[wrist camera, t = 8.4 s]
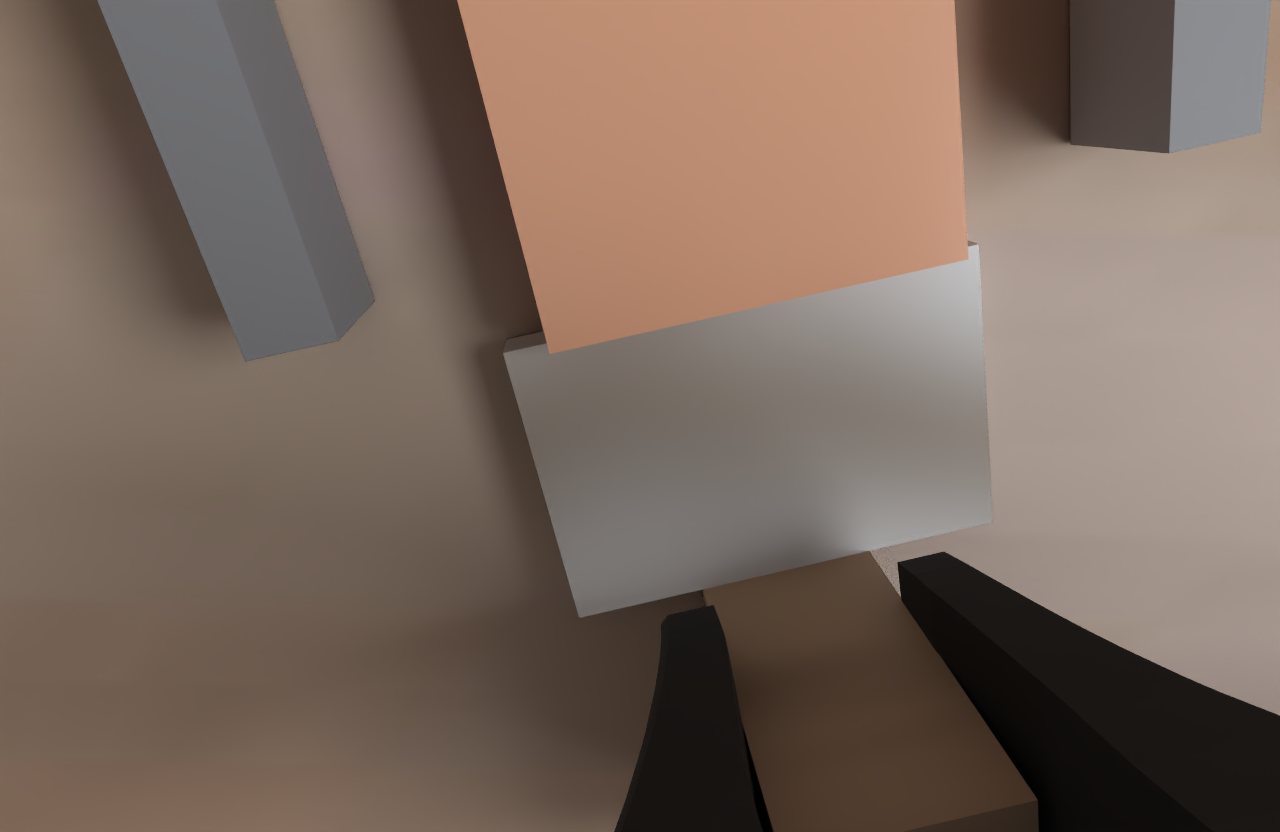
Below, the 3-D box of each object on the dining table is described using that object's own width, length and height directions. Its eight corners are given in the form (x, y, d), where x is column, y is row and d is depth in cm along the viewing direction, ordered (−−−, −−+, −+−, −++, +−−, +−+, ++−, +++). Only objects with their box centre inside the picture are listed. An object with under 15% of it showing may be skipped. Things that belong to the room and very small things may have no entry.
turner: (988, 755, 14) (1201, 1082, 9) (646, 835, 14) (689, 1204, 9) (956, 236, 11) (1265, 344, 6) (506, 340, 11) (463, 530, 6)
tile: (917, 238, 11) (968, 258, 10) (551, 321, 11) (549, 354, 9) (881, -207, 9) (939, -262, 8) (440, -109, 9) (419, -147, 8)
